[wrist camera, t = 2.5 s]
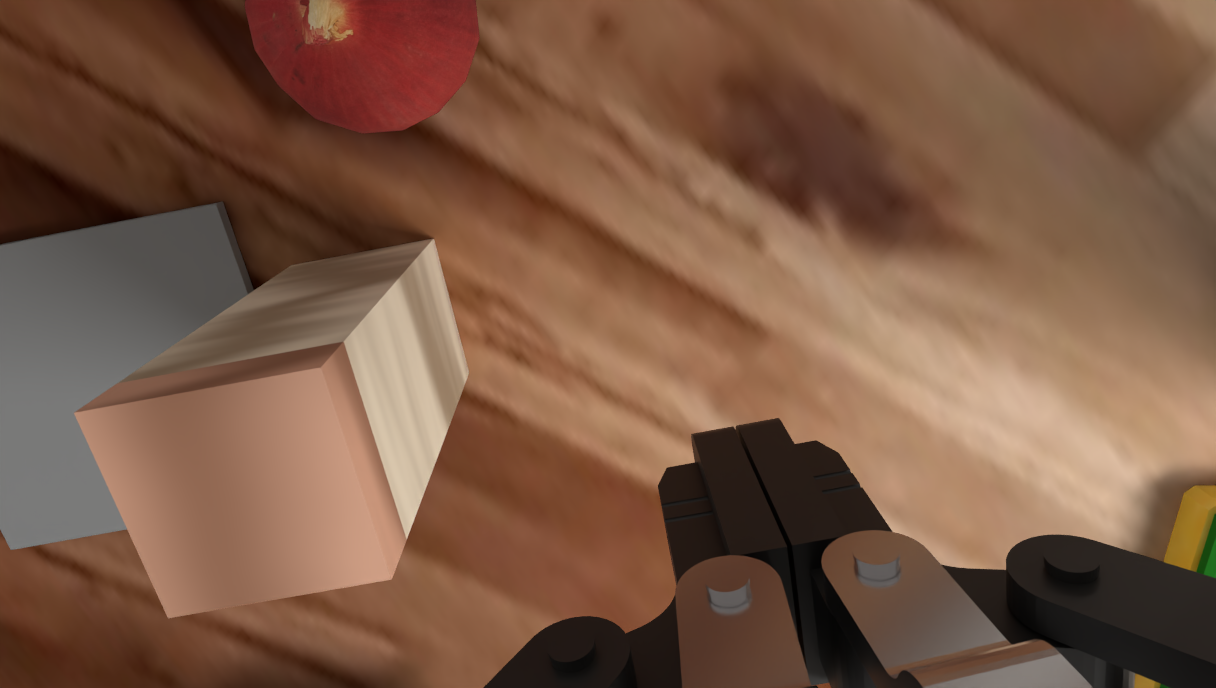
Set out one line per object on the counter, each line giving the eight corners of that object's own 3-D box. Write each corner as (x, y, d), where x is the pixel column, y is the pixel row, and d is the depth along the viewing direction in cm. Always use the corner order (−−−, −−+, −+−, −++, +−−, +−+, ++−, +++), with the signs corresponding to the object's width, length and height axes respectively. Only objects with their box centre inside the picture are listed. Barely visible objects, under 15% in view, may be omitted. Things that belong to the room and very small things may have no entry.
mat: (222, 201, 26) (216, 204, 25) (323, 487, 29) (319, 494, 29) (-123, 267, 26) (-136, 271, 26) (20, 542, 30) (10, 549, 29)
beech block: (433, 238, 26) (321, 367, 15) (468, 372, 28) (391, 579, 17) (290, 265, 27) (73, 412, 15) (334, 397, 28) (168, 618, 17)
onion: (266, -25, 24) (115, -68, 16) (432, -117, 23) (357, -209, 15) (367, 153, 25) (275, 189, 18) (524, 72, 25) (498, 74, 17)
